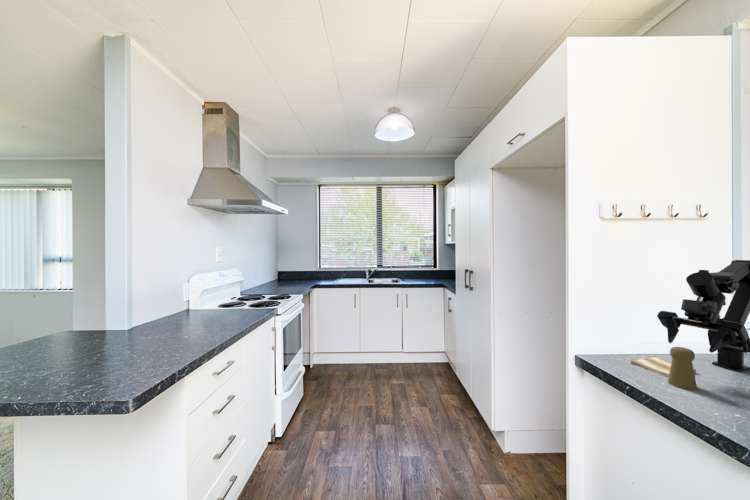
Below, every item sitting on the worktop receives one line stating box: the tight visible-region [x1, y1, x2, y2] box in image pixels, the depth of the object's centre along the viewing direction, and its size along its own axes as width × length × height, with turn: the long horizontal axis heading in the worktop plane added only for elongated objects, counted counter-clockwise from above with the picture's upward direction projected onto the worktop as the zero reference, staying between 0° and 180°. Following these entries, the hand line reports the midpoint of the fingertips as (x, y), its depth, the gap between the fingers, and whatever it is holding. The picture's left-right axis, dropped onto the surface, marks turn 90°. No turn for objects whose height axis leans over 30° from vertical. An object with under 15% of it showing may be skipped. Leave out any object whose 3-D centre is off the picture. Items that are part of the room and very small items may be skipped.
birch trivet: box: [630, 356, 697, 378], centre depth 102 cm, size 12×12×1 cm
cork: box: [667, 346, 698, 391], centre depth 90 cm, size 6×6×11 cm
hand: (689, 346), depth 92 cm, fingers open, 9 cm apart
